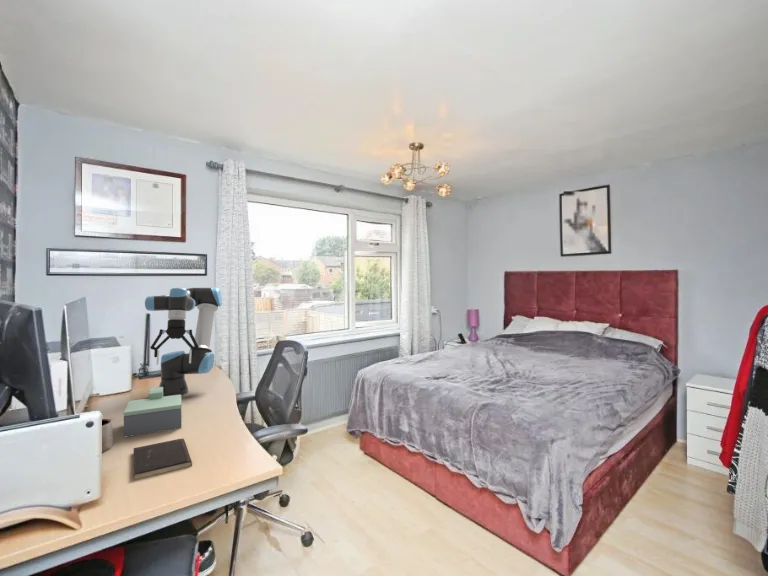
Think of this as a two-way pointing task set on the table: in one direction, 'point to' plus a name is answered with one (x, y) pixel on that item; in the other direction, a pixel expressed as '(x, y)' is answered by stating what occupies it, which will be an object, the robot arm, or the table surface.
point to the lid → (153, 403)
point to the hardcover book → (160, 458)
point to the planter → (106, 434)
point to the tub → (152, 422)
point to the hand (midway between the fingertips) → (174, 363)
